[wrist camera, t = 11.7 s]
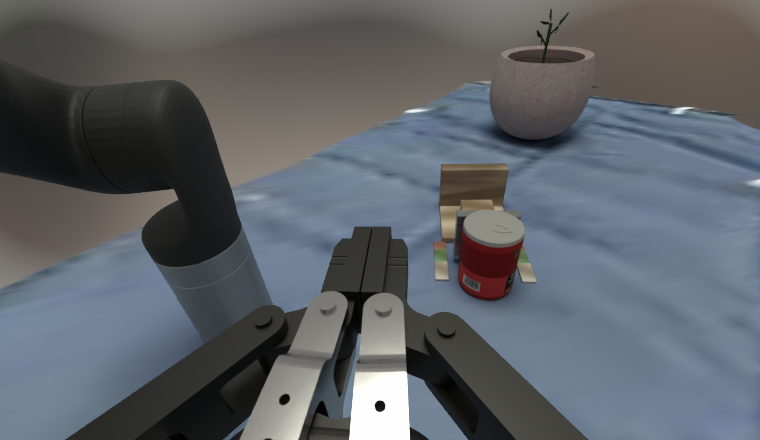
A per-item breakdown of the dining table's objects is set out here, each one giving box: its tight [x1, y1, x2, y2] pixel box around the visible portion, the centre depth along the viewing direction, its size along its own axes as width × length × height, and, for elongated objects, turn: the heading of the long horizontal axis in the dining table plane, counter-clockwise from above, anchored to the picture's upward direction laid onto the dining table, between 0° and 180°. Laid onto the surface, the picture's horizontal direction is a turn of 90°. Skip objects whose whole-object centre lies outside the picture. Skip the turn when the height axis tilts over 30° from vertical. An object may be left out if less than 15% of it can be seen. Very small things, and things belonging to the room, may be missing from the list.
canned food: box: [458, 210, 525, 300], centre depth 48 cm, size 8×8×11 cm
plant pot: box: [490, 10, 595, 140], centre depth 85 cm, size 24×24×30 cm
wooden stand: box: [434, 164, 536, 283], centre depth 58 cm, size 22×15×9 cm
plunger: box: [453, 210, 521, 257], centre depth 56 cm, size 12×9×8 cm
